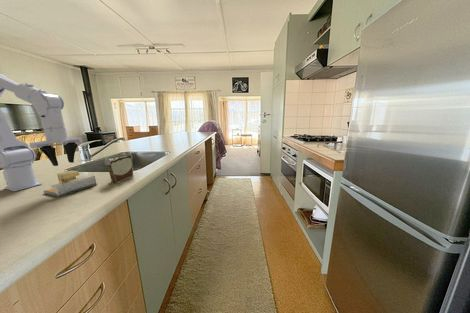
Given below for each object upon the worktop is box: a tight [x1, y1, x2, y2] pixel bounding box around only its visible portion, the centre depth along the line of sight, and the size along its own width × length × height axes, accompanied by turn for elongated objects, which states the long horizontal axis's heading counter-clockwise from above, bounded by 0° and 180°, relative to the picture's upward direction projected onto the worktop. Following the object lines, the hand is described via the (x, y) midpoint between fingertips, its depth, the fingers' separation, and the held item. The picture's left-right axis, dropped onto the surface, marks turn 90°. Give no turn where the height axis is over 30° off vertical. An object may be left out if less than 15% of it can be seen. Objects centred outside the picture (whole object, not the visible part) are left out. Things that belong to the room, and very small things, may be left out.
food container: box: [103, 153, 134, 184], centre depth 78 cm, size 12×6×10 cm, turn 168°
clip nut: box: [56, 170, 80, 184], centre depth 70 cm, size 5×4×5 cm
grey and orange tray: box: [43, 174, 98, 198], centre depth 69 cm, size 10×12×4 cm
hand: (63, 164), depth 69 cm, fingers open, 4 cm apart
